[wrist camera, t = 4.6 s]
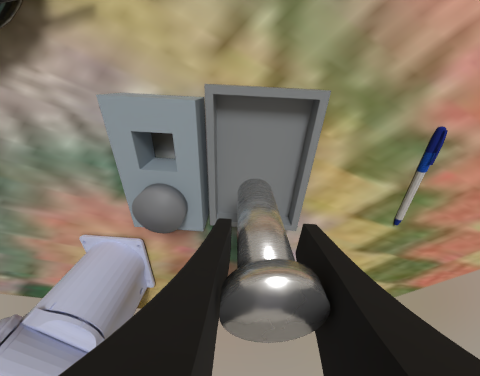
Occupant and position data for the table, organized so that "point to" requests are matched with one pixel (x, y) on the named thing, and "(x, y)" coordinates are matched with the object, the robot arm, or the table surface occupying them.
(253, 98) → the tray
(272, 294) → the lock pin
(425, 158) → the ballpoint pen
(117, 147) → the block
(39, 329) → the robot arm
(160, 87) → the table surface
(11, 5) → the pulley block
